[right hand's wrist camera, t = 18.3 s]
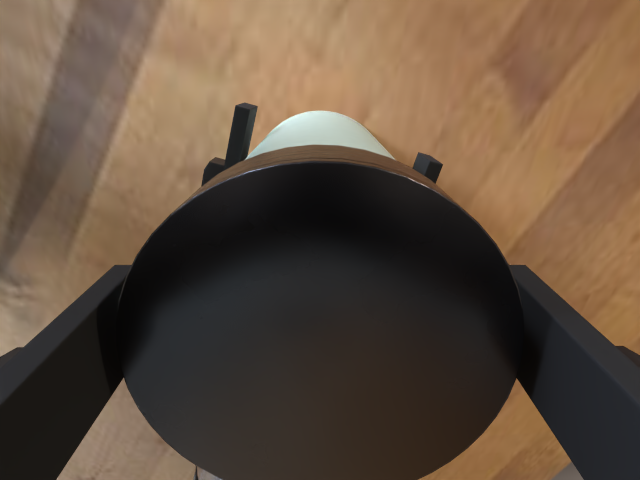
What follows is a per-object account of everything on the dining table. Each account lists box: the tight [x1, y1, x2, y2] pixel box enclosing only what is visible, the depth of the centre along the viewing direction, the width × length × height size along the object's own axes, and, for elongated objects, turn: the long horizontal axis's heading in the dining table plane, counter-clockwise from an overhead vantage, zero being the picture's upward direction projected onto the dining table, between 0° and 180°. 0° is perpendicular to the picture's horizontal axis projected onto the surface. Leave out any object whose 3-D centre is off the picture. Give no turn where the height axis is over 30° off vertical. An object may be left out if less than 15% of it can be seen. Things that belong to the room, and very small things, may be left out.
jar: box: [245, 111, 395, 160], centre depth 20 cm, size 10×10×20 cm
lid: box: [116, 145, 525, 480], centre depth 12 cm, size 11×11×2 cm
